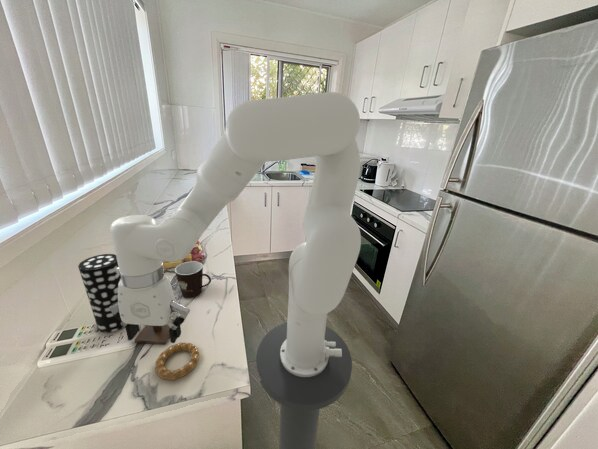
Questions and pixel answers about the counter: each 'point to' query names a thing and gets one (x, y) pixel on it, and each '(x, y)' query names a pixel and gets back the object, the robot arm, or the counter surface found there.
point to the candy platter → (193, 256)
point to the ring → (180, 372)
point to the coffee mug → (190, 278)
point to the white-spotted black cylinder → (102, 289)
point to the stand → (154, 334)
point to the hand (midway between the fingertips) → (155, 336)
